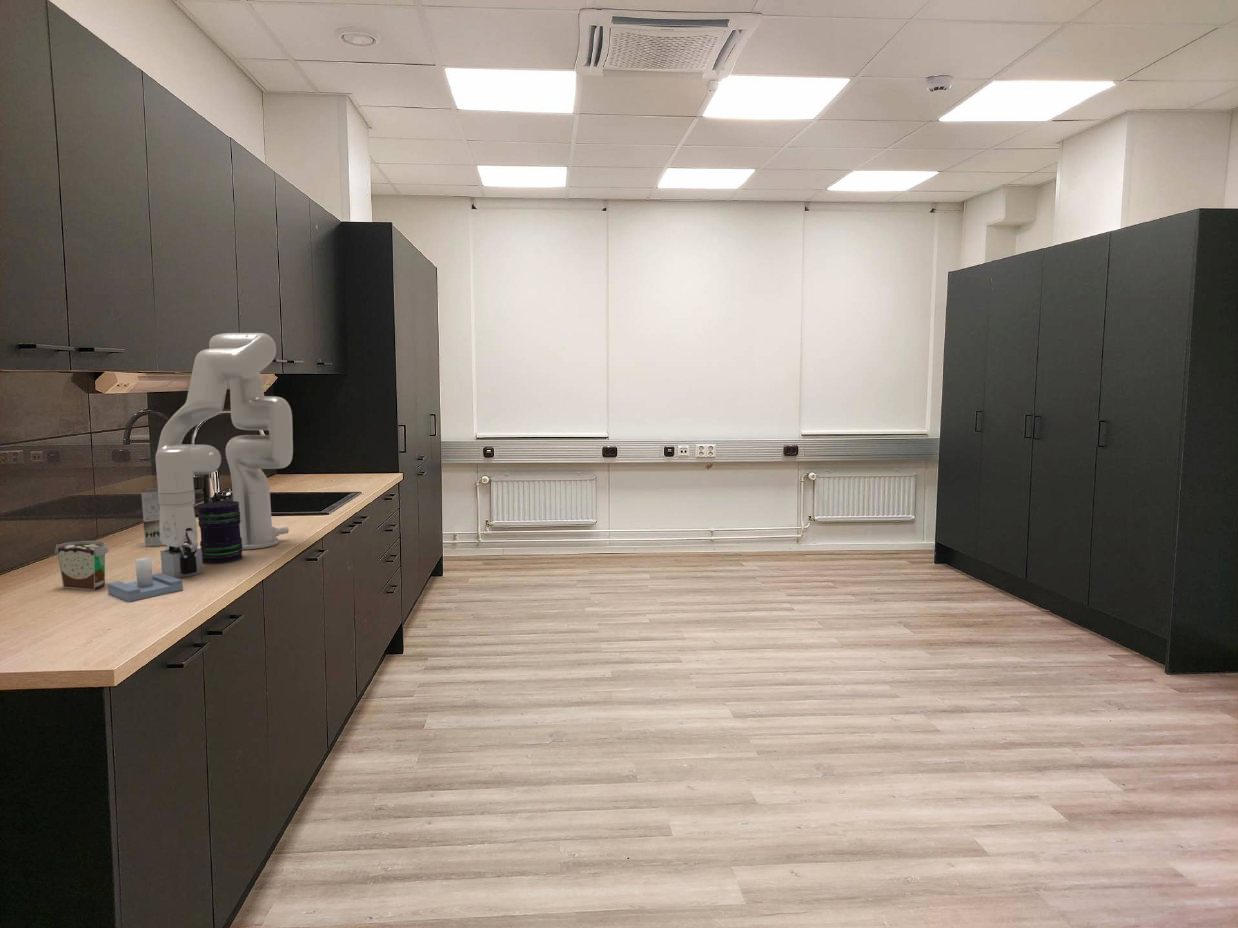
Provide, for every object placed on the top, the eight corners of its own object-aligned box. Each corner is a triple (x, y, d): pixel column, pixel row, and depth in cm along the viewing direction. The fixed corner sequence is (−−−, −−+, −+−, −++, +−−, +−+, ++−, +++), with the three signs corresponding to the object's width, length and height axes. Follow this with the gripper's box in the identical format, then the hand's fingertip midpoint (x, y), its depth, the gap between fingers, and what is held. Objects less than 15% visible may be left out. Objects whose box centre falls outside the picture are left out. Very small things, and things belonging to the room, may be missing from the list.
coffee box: (170, 545, 217) (165, 490, 215) (144, 547, 215) (140, 491, 213) (178, 538, 226) (174, 486, 224) (153, 540, 224) (149, 487, 222)
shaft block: (161, 582, 177) (158, 551, 176) (182, 589, 170) (180, 557, 170) (108, 593, 168) (105, 560, 167) (128, 601, 162) (125, 567, 161)
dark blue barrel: (211, 566, 192) (207, 508, 190) (194, 560, 198) (190, 504, 196) (250, 558, 200) (246, 503, 198) (232, 553, 206) (228, 499, 204)
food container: (124, 583, 176) (120, 541, 175) (99, 590, 170) (96, 547, 169) (83, 580, 180) (79, 539, 178) (58, 587, 174) (54, 544, 173)
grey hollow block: (190, 569, 189) (188, 545, 188) (203, 573, 185) (201, 549, 184) (162, 574, 184) (160, 550, 183) (174, 579, 180) (172, 554, 179)
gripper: (144, 497, 184) (150, 569, 186) (176, 504, 174) (182, 579, 176) (177, 493, 190) (182, 563, 192) (210, 500, 180) (215, 572, 182)
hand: (182, 570), depth 184 cm, fingers closed on grey hollow block, 6 cm apart
